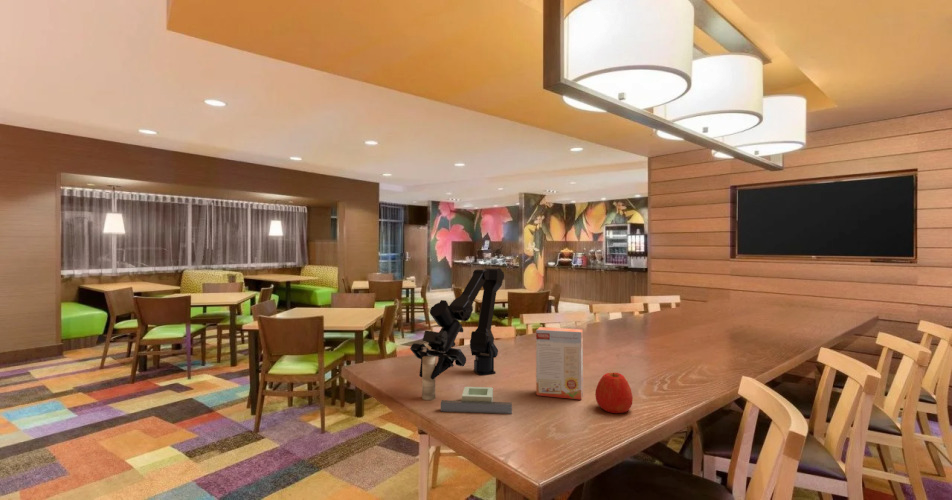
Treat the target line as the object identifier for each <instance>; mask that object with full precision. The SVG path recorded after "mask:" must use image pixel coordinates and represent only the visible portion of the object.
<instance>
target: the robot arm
mask: <svg viewBox="0 0 952 500" xmlns="http://www.w3.org/2000/svg"><path fill="white" fill-rule="evenodd" d="M504 279H505V273H504V271H503V270H502V269H501V268H499V267H498V268H497V267H485V268H483V269H479V268H477V269H474V270H473V272H472V276H471V277H470V279H469V281H468V283H467V284H466V286H465V287H464V289H463V291H462V292H461V294H460V295H459V296H458V297H455V299H453V301H452V302H451V303H450V304H448V301H447V300H444V299H441V300H440V301H439V302H437V303H436V304H434V305H432V306H431V307H430V309H429V315H430V316H431V318H432V319H433V320H434V321H435V323H436V324H437V326H439V327H441V328H440V330H439V331H433V330H424V333H423V337H422V342H427V345H428V347H430V348H428V347H427V346H426V345H425V343H421V342H413V343H412V345H411V346H410V348H409V349H410V351H411V352H412V354H414V356H415V357H416V358H417V359H419V360H420V368H419V377H420V378H422V357H424V356H435V357H436V358H437V359H438V360H437V362H436V363H435V368H434V370H433V372H432V375H431V379H432V380H433V379H434V378H435V379H436V378H437V377H438V376H440V375H441V374H442V373H443V372H445V371H447V370H448V369H449V368H454V363H455V365H456V366H459V367H465V366H466V363H467V357H466V356H465V354H464V352H463V351H462V350H461V349H460V348H453V347H456V343H455V342H456V339H457V337H458V335H459V333H464V328H463V324H461V323H460V322H467V321H469V319H470V318H471V316H472V313H473V310H474V307H473V303H474V301H475V300H476V298H477V296H478V295H479V293H480V291H481V289H482V288H483V292H482V298H481V299H482V300H481V306H480V310H479V311H480V312H479V317H478V323H477V327H476V329H475V330H473V331H471V334H470V340H469V347H470V353H471V356H474V358H475V359H474V360H473V372H475V373H476V374H478V375H480V376H482V375H492V374H493V375H494V374H496V371H495V367H494V366H495V360H494V359H495V358H497V356H498V354H499V350H498V348H497V346H496V344H495V341H494V340H495V337H494V334H493V332H492V326H493V325H492V324H493V318H494V310H495V306H496V305H495V303H496V297H497V293H498V290H499V289H500V288H501V287H502V286H503V282H504Z"/></svg>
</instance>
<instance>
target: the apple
mask: <svg viewBox="0 0 952 500" xmlns="http://www.w3.org/2000/svg"><path fill="white" fill-rule="evenodd" d="M594 395H595V401H596V404H597V405H598V406H599V407H600V408H601V409H602V410H604V411H606V413H607V412H608V413H613V414H622V413H626V412H628V411H629V410H630V409H631V408H632V406H633V400H634V397H633V392H632V388H631V386H630V384H629V382H628V380H627V379H626V378H625V376H624V375H623V374H621V373H619V372H607V373H605V374H603V375H601V378H600V379H599V381H598V383H597V385H596V389H595V394H594Z"/></svg>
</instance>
